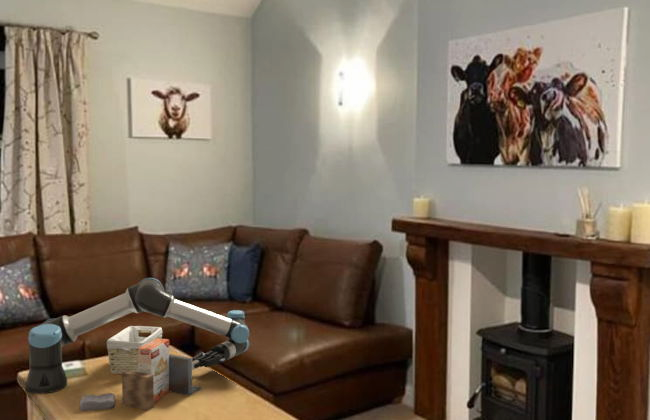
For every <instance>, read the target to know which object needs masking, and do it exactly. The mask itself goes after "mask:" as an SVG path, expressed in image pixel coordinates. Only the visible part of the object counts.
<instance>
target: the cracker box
mask: <svg viewBox="0 0 650 420" xmlns="http://www.w3.org/2000/svg"><path fill="white" fill-rule="evenodd" d="M169 354H170V339H168V338H162V339H158V338H157V339H155V340H153V341H151V342H149V343H147V344H145V345H143V346H141V347H140V348H138V372H141V373H145V374H150V375H153V392H154V403H156V402H157V401H158V400H159V399H161V398H163V396H165V395H167V394H169Z"/></svg>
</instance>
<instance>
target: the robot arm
mask: <svg viewBox="0 0 650 420" xmlns="http://www.w3.org/2000/svg"><path fill="white" fill-rule="evenodd" d="M142 312H144V313H148V314H151V315H155V316H157V317H160V318H170V319H174V320H177V321H180V322H182V323H185V324H189V325H190V326H193V327H194V326H195V327H197V328H200V329H202V330H203V329H204V330H206V331H208V332H212V333H214V334H217V335H220V336H223V337H226V338H227V340H225V341H224V342H222V343H218V344H217V345H214V346H213V347H212V348H211V349H210V350H209V351H206V353H204V352H203V351H200V352H199V353H198V354H197V355H195V356H193V357H191V358H192V371H194V370H196V369H198V368H202V367H204V368H209V367H211V366H215V365H217V364H222V363H225V362H226V361H228V360H230V359H232V358H234V357H237V356H238V355H242V354H243V353H245V352H246V351H248V349H249V347H250V341H249V337H250V329H249V328H248V325H247V324H246V321H245V319H246V316H245V312H244V311H243V310H240V309H239V310H238V309H237V310H235V309H233V310H230V311H228V312H227V315H226V316H227V317H226V316H224V315H221V314H217V313H215V312H213V311H210V310H207V309H205V308H201V307H199V306H197V305H193V304H190V303H187V302H184V301H182V300H179V299H176V298H175V297H174V295H173V294H170V293H168V292H166V290H165V288H164V286H163V284H162V283H161V281H160V280H158V279H157V278H154V277H145V278H144V279H142V280H140V281H139V282H138V283H137V284H134V285H132V286H130V287H127V289H126V290H125V292H124V293H122V294H120V295H117V296H116V297H112V298H111V299H108V300H105V301H103V302H101V303H99V304H96V305H94V306H92V307H89V308H87V309H85V310H83V311H80V312H78V313H76V314H73V315H71V316H68V315H61V316H59V317H57V318H50V319H47V320H46V321H44V322H42V323H41V324H40V325H37V326H34V327H32V328H31V329H30V330H29V332H28V337H27V340H28V355H29V356H28V357H29V359H28V360H29V369H28V370H29V371H28V373H27V378H26V381H25V383H24V390H25V391H26V392H27V393H31V394H46V393H53V392H58V391H61V390H62V389H65V387H67V386H68V378H67V375H66V373H65V369H64V367H63V355H62V354H63V353H62V352H63V350H62V349H63V347H64V346H67V345H69V344H71V343H74V342H76V340H77V338H78V337H79V336H80V335H83V334H84V333H88V332H91V331H93V330H95V329H96V328H100V327H101V326H104V325H106V324H108V323H111V322H113V321H115V320H117V319H119V318H122V317H124V316H126V315H129V314H131V313H135V314H140V313H142Z"/></svg>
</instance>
